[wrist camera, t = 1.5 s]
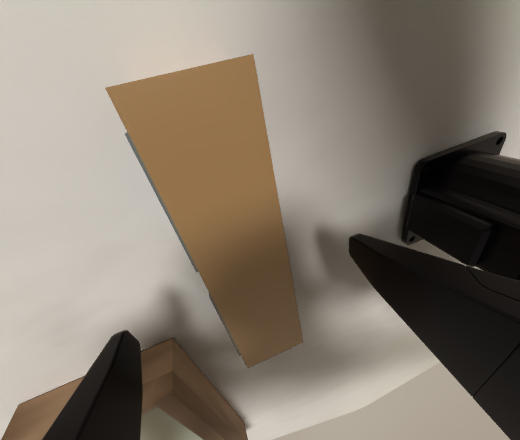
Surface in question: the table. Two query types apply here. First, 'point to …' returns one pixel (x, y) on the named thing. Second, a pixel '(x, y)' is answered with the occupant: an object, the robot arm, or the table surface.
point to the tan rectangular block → (219, 193)
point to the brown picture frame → (149, 403)
